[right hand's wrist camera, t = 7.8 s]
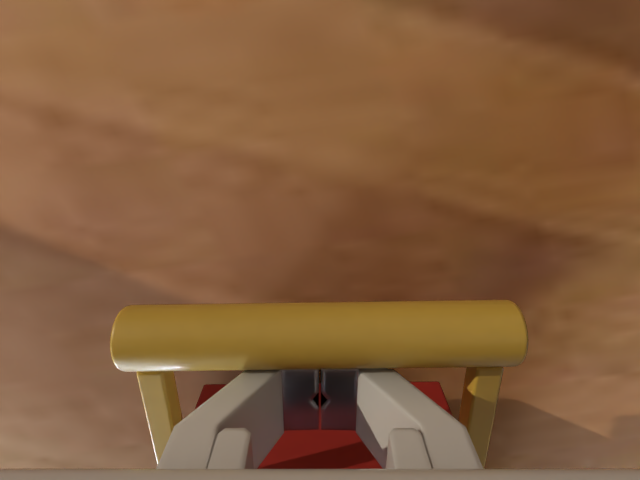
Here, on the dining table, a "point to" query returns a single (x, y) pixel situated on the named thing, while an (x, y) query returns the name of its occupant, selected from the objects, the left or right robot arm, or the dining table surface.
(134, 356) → the drawer
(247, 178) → the dining table surface
